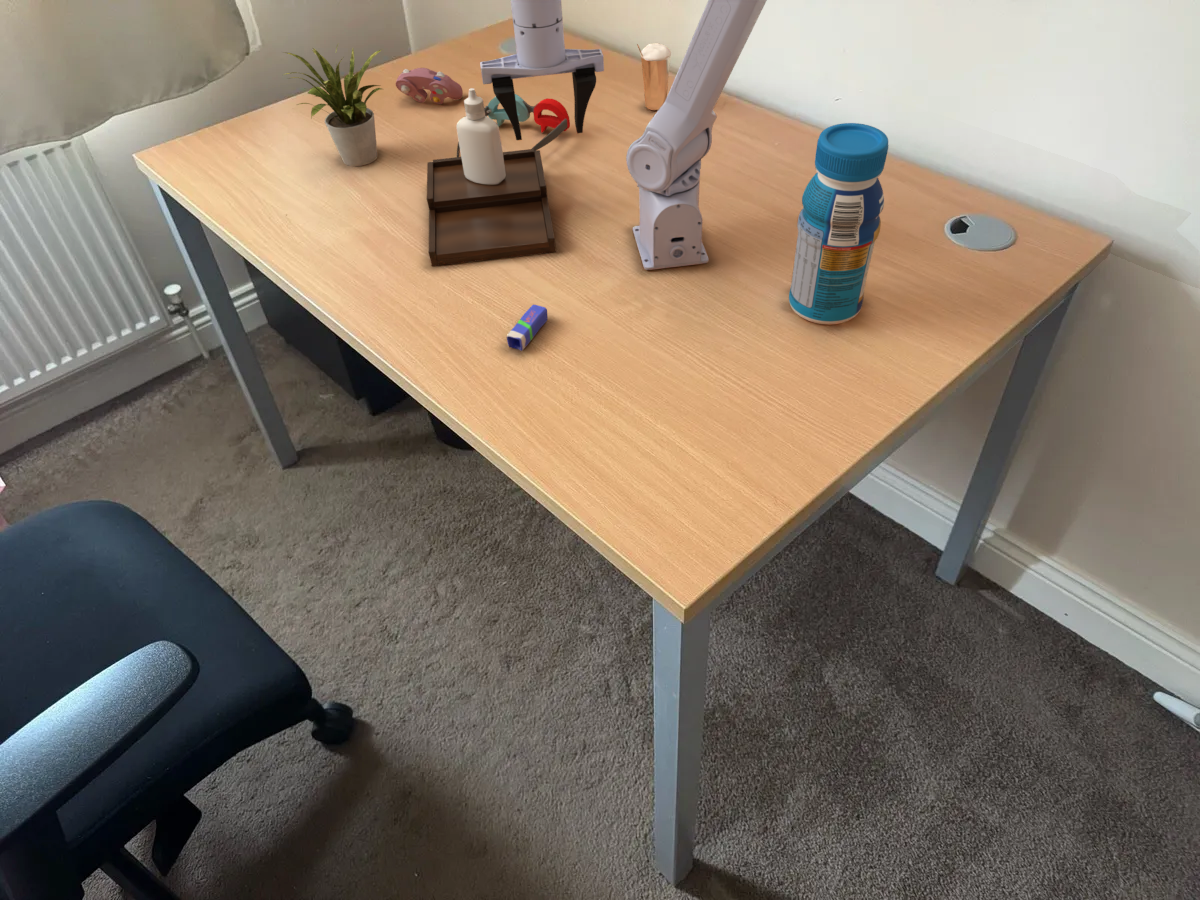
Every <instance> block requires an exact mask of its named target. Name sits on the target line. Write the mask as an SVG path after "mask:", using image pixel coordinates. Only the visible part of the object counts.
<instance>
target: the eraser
mask: <svg viewBox="0 0 1200 900" xmlns="http://www.w3.org/2000/svg"><path fill="white" fill-rule="evenodd" d="M547 321H548V309H547V308H546V307H545V306H542V305H537V304H532V305H531V306H530V307H529V308H528V309H527V311H525V312H524V313H523V315H522V316H521V317H520V318H519V320H518V321H517V323H515V325H514V326H513V328H511V329H510V331H508V333H507V334H506V341H507V346H508V347H509V348H511V349H515V350H517V351H521V352H522V351H523V350H524V349H526V347H527V346H528V345H530V342H531V341H532V340H533V339H534V337H535V336H536V335H537V333H538V332H539V331H540V330H541V328H542V327H543V326H544V325H545V324H546V323H547Z"/></svg>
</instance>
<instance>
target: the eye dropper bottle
mask: <svg viewBox="0 0 1200 900" xmlns="http://www.w3.org/2000/svg"><path fill="white" fill-rule="evenodd" d="M484 103H485V102H484V99H483V98H482V97H481V96H478V95H477V93H476V90H475V88H474V87H473V88H472V87H470V88H469V89H468V97H466V98H465V99H464V100H463V106H464V112H465V116H463V117H461V118H460V119H459V120H458V121H457V123H456V127H455V128H456V133H457V142H458V141H459V147H460V150H459V151H460V153H459V154H460V157H461V158H462V164H463V170H464V175H465V177H466V178H467V179H468V180H470V181H472V182H475V183H479V184H485V185H496V184H499V183H500V182H501V181H502V180H504V179H505V177H506V173H505V166H504V158H503V152H504V151H503V146H502V145H503V144H502V139H501V138H502V137H501V131H500V126H499V127H498V125H497V121H495V120H494V119H490V118H489V117H488V116H485V110H484V108H485V104H484Z"/></svg>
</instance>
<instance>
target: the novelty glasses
mask: <svg viewBox="0 0 1200 900" xmlns="http://www.w3.org/2000/svg"><path fill="white" fill-rule="evenodd" d="M515 100H516V109H517V115H518V119H519V123H524V122H526V121H527V120H528V119H530V117H531V113H533V121H534V123H535V124H536V125H538V126H540V131H541V132H540V133H541V134H543V133H544V132H545V131H546V130H547V128H552V129H553V130H551V131H550V132H549V133H548V134H547V135H545V136H544V137H543V138H542V139H540V140H539V141H538V142H537V143H536V144H535V145H534V146H532V147H531V149H534V151H537V150H540V149H542V148H544V147H545V146H547V145H548V144H550V143H551V142H552V141H554V140H555V139H557V137H559V136H560V135H561V134H562V133H563V132H567V131H568V129H570V127H571V121H570V116H569V113H568V111H567V109H566V107H565V106H564V105H563V104H562V103H561V102H560V101H559V100H557V99H555V98H544V99H542V100H540V101H539V102H538V103H536V104H535V105H534V106H533V105H530V104H529V103H528V102H527V101H525V100H524V99H523V98H522V97H521V96H520V95H518V94H517V93H515ZM499 105H501V103H500V102H499V101H498V99H497V98H496V96H494V97H493V98H492V99H490V101H489V102H488V104H487V105H485V106H484V110H485V116H487V117H489V118H490V119H492V120H493V121H496V123H497V125H498V127H499V128H500V127H501V126H502V125H503V124H504V122H505V121H510V120H509V117H508V115H507V114H506V112H505V110H504V108H499ZM543 111H549V112H552V113H553V114H554V115H552V114H543ZM460 154H461V153H460V147H459V141H458V140H457V148H456V157H460Z"/></svg>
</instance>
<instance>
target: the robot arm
mask: <svg viewBox="0 0 1200 900" xmlns="http://www.w3.org/2000/svg"><path fill="white" fill-rule="evenodd" d="M767 2H768V0H707V2H706V4H705V7H704V10H703V11H702V15H701V17H700V19H699V21H698V23H697V26H696V28H695V30H694V33H693V35H692V37H691V39H690V42H689V44H688V47H687V49H686V52H685V54H684V55H683V58H682V61H681V63H680V65H679V68H678V69H677V73H676V75H675V77H674V79H673V81H672V84H671V86H670V89H669V91H668V92H667V98H666V100H665V102H664V104H663V105H662V106H661V108H660V109H659V110H656V113H655V114H654V115H653V116H652V118H651V119H650V120H649V122H648V123H647V125H646V127H645V128H644V131H643V133H642V134H641V136H640V137H639V138H637V139H635V140H634V141H633V142H632V143H631V144H630V146H629V147H628V149H627V151H626V158H625V161H626V167H627V170H628V172H629V175H630V177H631V178H632V179H633V181H634V182H635V183H636V187H637V188H638V197H639V199H638V200H639V201H638V203H639V204H638V206H639V212H638V213H639V225H635V226H632V233H633V236H634V237H633V238H634V239H635V243H636V246H637V249H638V253H639V256H640V257H639V258H640V259H641V263H642V268H643V269H644V270H645V271H652V270H660V269H668V268H677V267H687V266H694V265H702V264H708V263H709V256H708V253H707V250H706V248H705V245H704V243H703V215H702V212H701V210H700V207H699V206H700V185H701V184H700V183H701V169H702V159H703V158H704V157H706V156H707V155H708V153H709V151H710V149H711V147H712V141H713V133H712V132H713V127H714V124H715V122H716V120H717V118H718V116H717V114H716V112H715V111H714V109H715V106H716V105H717V102H718V101H719V99H720V97H721V95H722V92H723V90H724V89H725V86H726V84H727V82H728V80H729V78H730V76H731V74H732V72H733V70H734V68H735V66H736V64H737V62H738V60H739V58H740V56H741V54H742V52H743V49H744V48H745V46H746V44H747V42H748V39H749V38H750V35H751V33H752V31H753V29H754V27H755V25H756V23H757V21H758V19H759V17H760V15H761V13H762V11H763V10H764V7H765V5H766V3H767ZM510 9H511V16H512V17H511V18H512V25H513V26H512V27H513V31H514V32H513V33H514V34H513V35H514V43H515V50H516V53H514V54H511V55H506V56H503V57H499V58H495V59H490V60H484V61H480V62H479V65H480V71H481V72H480V73H481V81H482V84H483V85H491V84H492V92H493V93H494V97H496V98H497V99H498V101H499V102H500V105H501V107H502V109H504V110H505V112H506V114H507V115H508V117H509V120H508V121H509V122H510V124H511V127H512V129H513V132H514V137H515V140H516V141H522V140H523V138H522V131H521V124H520V122H519V119H518V115H517V109H516V100H515V94H516V92H515V88H514V87H515V86H514V79H515V80H517V79H525V78H534V77H542V76H543V77H544V76H551V75H552V76H553V75H560V74H570V73H571V75H572V78H571V79H572V86H573V87H572V88H573V96H574V98H573V99H574V100H573V101H574V126H575V130H576V133H577V134H582V133H583V132H584V122H585V117H586V112H587V108H588V105H589V102H590V99H591V96H592V94H593V92H594V90H595V88H596V84H597V76H596V73H601V72H604V71H605V63H604V60H605V59H604V53H603V51H602V48H594V49H587V48H586V49H580V48H566V44H565V33H564V32H565V31H564V17H563V5H562V0H510Z"/></svg>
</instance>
